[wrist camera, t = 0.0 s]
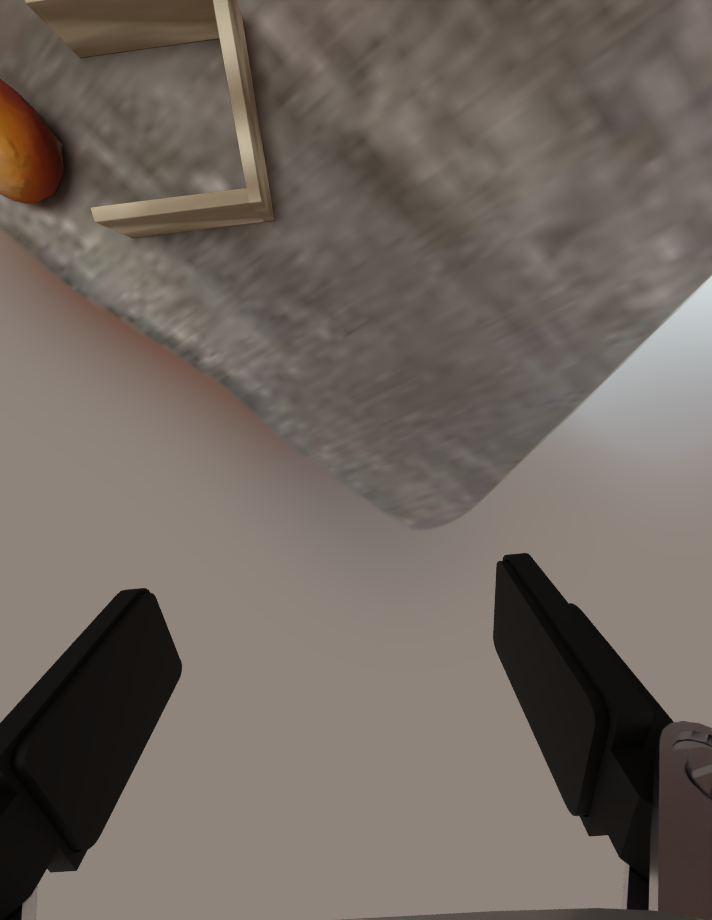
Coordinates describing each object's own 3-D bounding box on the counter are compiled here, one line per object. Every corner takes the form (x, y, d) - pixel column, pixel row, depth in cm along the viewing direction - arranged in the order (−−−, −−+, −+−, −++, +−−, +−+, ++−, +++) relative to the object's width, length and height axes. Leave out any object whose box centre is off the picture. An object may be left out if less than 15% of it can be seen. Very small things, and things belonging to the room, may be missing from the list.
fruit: (89, 121, 29) (-9, 122, 23) (90, 210, 34) (10, 227, 29) (-7, 36, 27) (-138, 16, 21) (10, 146, 32) (-91, 151, 27)
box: (75, 41, 28) (19, -18, 23) (242, 17, 28) (219, -47, 23) (131, 238, 33) (95, 221, 28) (274, 220, 32) (261, 201, 28)
